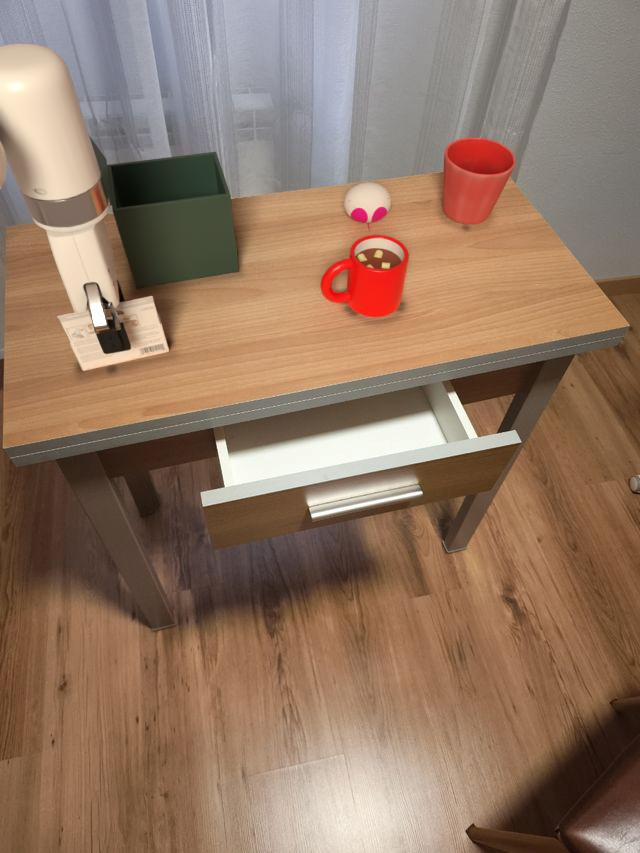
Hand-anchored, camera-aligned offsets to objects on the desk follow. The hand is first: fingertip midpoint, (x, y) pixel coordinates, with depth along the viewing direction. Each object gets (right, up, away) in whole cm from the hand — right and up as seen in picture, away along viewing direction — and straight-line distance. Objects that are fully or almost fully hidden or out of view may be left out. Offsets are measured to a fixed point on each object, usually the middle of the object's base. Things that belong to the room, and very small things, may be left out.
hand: (115, 327), depth 70 cm
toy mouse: (+33, +21, +23) cm, 45 cm away
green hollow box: (+4, +14, +16) cm, 22 cm away
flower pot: (+49, +24, +25) cm, 60 cm away
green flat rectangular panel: (-3, +22, +1) cm, 22 cm away
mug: (+31, +6, +12) cm, 34 cm away
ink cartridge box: (0, -3, +4) cm, 5 cm away
